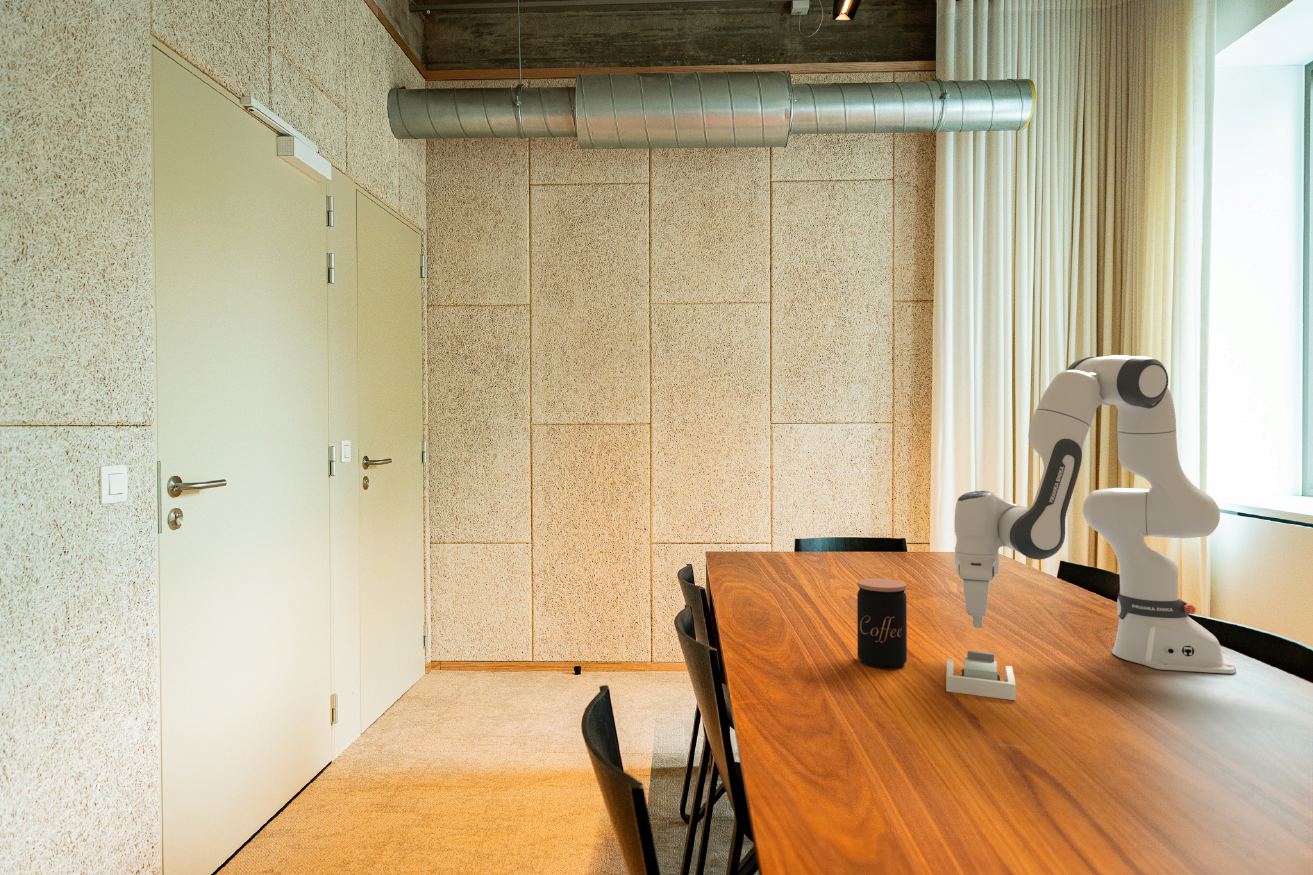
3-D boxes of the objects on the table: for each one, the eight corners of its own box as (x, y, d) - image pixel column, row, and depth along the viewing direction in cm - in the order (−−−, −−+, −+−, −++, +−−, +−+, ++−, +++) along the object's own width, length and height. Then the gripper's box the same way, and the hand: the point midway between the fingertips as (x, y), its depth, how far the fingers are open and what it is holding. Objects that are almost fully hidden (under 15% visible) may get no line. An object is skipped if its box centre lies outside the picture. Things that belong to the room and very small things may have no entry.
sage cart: (999, 683, 146) (999, 654, 146) (1000, 695, 139) (1000, 665, 139) (962, 678, 149) (961, 649, 149) (960, 690, 142) (960, 660, 142)
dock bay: (1012, 680, 147) (1012, 666, 147) (1015, 700, 136) (1015, 684, 136) (947, 673, 152) (947, 659, 152) (946, 691, 141) (946, 676, 141)
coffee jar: (852, 665, 157) (852, 584, 157) (862, 653, 166) (862, 576, 167) (903, 672, 152) (902, 589, 152) (910, 659, 161) (909, 580, 162)
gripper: (963, 554, 167) (964, 612, 168) (959, 572, 149) (960, 637, 149) (992, 556, 165) (993, 615, 165) (992, 574, 146) (993, 640, 147)
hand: (977, 626), depth 157 cm, fingers closed
